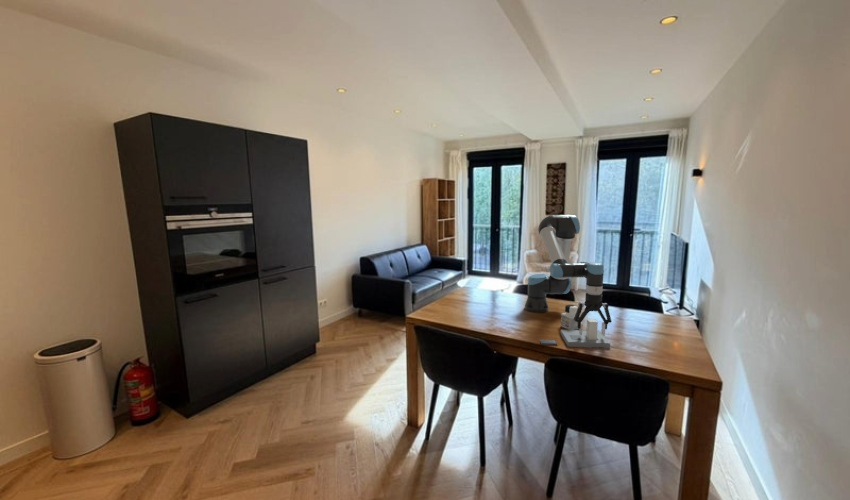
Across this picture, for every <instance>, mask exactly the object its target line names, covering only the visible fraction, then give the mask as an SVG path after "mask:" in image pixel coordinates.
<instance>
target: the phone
mask: <svg viewBox="0 0 850 500" xmlns="http://www.w3.org/2000/svg"><path fill="white" fill-rule="evenodd" d="M539 343H541V344H540V346H558V343H557V340H555V339H539Z"/></svg>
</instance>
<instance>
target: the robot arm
mask: <svg viewBox="0 0 850 500" xmlns="http://www.w3.org/2000/svg"><path fill="white" fill-rule="evenodd" d="M580 223H581V222H580V220H579V218H578V217H577V215H575V214H559V215H558V214H555V215H554V214H552V215H548V216H545V217H543V219H542V220H541V221H540V223H539V225H538V234H539V237H540V239H542V241H543V243H544V246H545V248H546V251H547V254H548V257H549V260H550V262H551V264H550V265H549V275H548V276H547V274H544V273H535V274H531V275H530V276H528V280H527V297H526V301H525V303H524V309H525V310H526V311H528V312H530V313H546V312H548V311H549V303H548V301H547V295H563V294H564V295H565V294H568V293H569V292H570V290H571V289H572V278H585V281H586V283H585V284H586V285H585V299H584V300H585V301H584V302H580V301H579V302H578V306H577V307H578V309H577V312H576V314H575V317H574V320H575V321H576V322H578V325H577V327H578V329H577V330H579V334H580V335H582V330H583V325H584V324H583V322H582V321H584V319H585V317H587V315H588V314H589V313H590V312H597V313H598V314H599V316H600V317H601V320H602V321H601V330H600V332H601V334H602V335H603V336H604V337H606V330H608V325H609V324H610V323H612V317H611V314H610V310H609V304H608V303H607V302H604V303H603V302H602V301H603V289H604V288H603V284H604V273H605V271H604V269H605V268H604V264H603V263H601V262H596V261H595V262H594V261H593V262H588V261H580V262H578V263H576V262H575V263H569V261H570V255H571V254H570V253H571V247H572V246H571V245H572V241H573V239H575V238H576V235H578V234H580V231H581V225H580ZM584 307H585V308H584ZM602 307H603V309H604V313H605V315H604V314H603V311H602V310H601V308H602ZM583 308H584V310H583ZM582 310H583V311H582ZM580 315H581V316H580ZM579 316H580V317H579ZM605 316H606V317H605Z"/></svg>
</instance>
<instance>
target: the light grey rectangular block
mask: <svg viewBox="0 0 850 500" xmlns="http://www.w3.org/2000/svg"><path fill="white" fill-rule="evenodd" d="M598 323H599V322H598V321H597V320H596V319H595V318H587V319H586V327H585V328H586V338H587V340H597V331H598V327H599V326H598V325H599V324H598Z"/></svg>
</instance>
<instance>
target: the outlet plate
mask: <svg viewBox="0 0 850 500" xmlns="http://www.w3.org/2000/svg"><path fill="white" fill-rule="evenodd" d="M560 335H561V337H562V339H563V341H564V343H565V345H566V346H567V347H570V348H571V347H573V348H592V347H604V348H603V349H611V342H610V341H609V340H608V339H607V338H606V336H603V335H602V334H601V330H597V340H587V338H586V330H583V329H582V335H580V334H579V329H575V330H568V329H560Z"/></svg>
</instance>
